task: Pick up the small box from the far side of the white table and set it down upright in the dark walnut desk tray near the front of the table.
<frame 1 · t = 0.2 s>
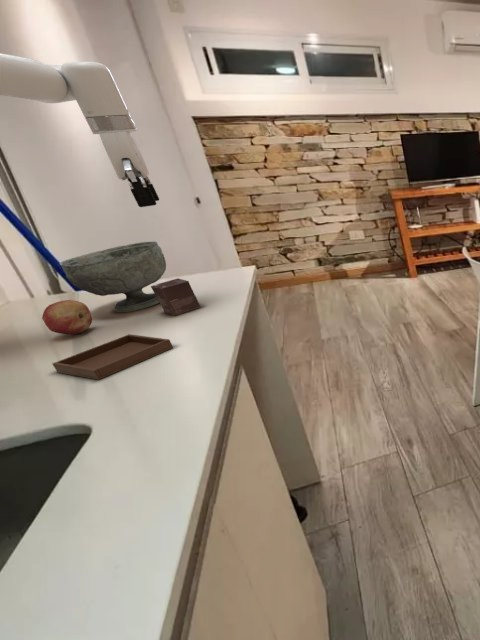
hand: (149, 203, 113), 26 cm above the worktop, tool pointing down, fingers open, 9 cm apart
bowl: (137, 306, 127), on the worktop
box: (183, 310, 121), on the worktop
fruit: (77, 334, 112), on the worktop
desk tray: (117, 359, 97), on the worktop
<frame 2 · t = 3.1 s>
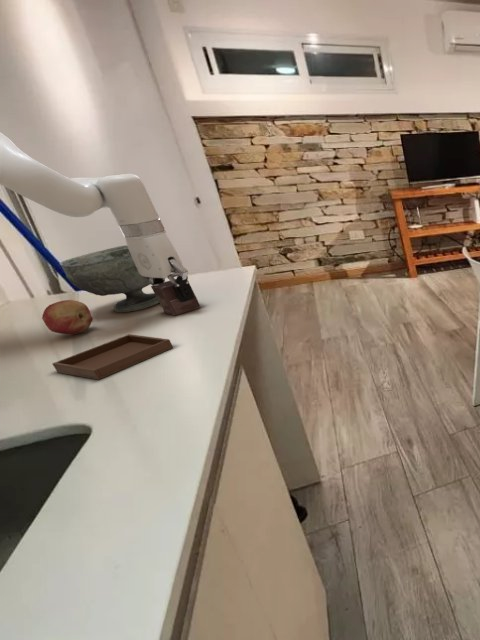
hand: (177, 298, 120), 3 cm above the worktop, tool pointing down, fingers closed on box, 6 cm apart
box: (183, 310, 121), on the worktop, touching gripper
everything else where it was.
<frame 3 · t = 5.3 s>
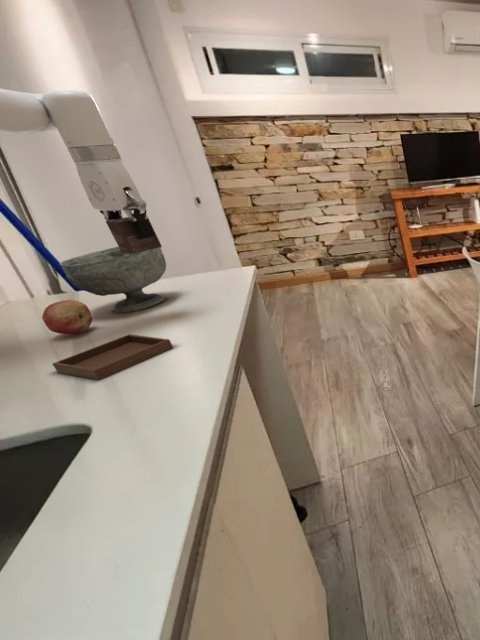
hand: (135, 236, 109), 20 cm above the worktop, tool pointing down, fingers closed on box, 6 cm apart
box: (142, 250, 111), point 17 cm above the worktop, touching gripper
everything else where it was.
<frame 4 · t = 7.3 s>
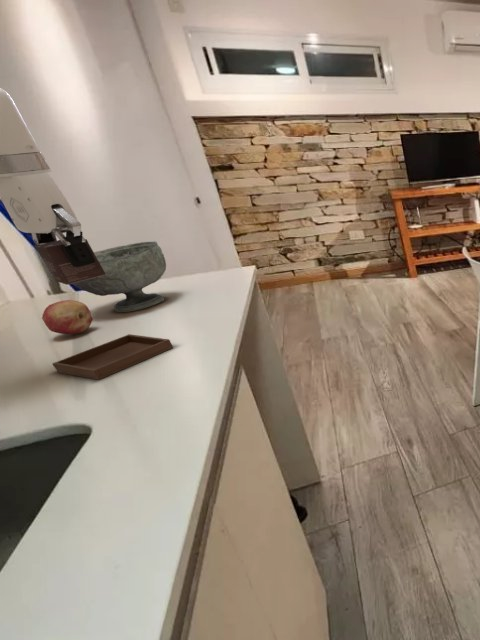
hand: (72, 263, 90), 20 cm above the worktop, tool pointing down, fingers closed on box, 6 cm apart
box: (82, 279, 92), point 16 cm above the worktop, touching gripper
everything else where it was.
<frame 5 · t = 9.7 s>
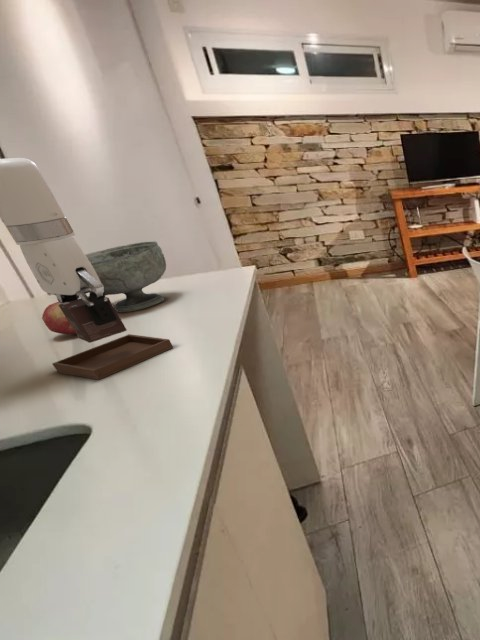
hand: (94, 320, 93), 9 cm above the worktop, tool pointing down, fingers closed on box, 6 cm apart
box: (103, 335, 94), point 5 cm above the worktop, touching gripper
everything else where it was.
when the fingers open (4 cm above the worktop, at t = 11.6 s): box stays where it is, resting on desk tray.
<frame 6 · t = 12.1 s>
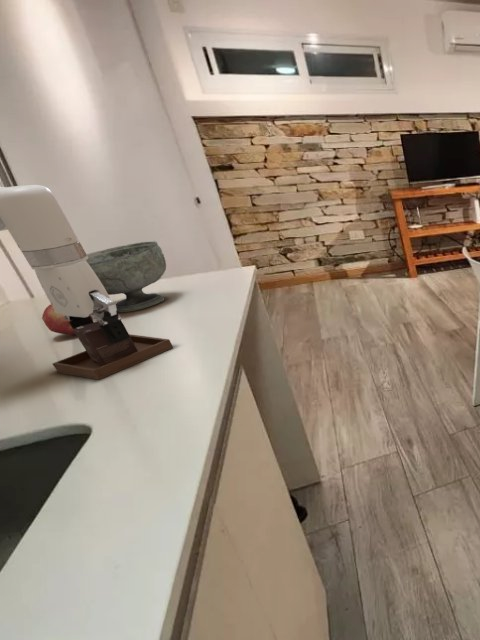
hand: (104, 338, 95), 5 cm above the worktop, tool pointing down, fingers open, 9 cm apart
box: (116, 358, 97), resting on desk tray
everything else where it was.
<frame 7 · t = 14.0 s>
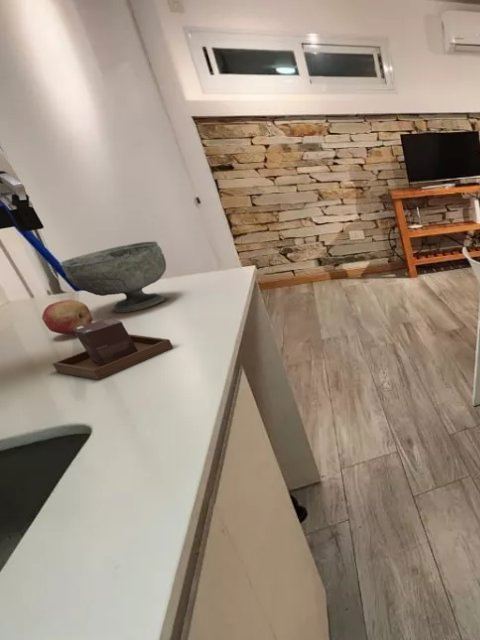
hand: (18, 229, 90), 26 cm above the worktop, tool pointing down, fingers open, 9 cm apart
nothing on the worktop moved.
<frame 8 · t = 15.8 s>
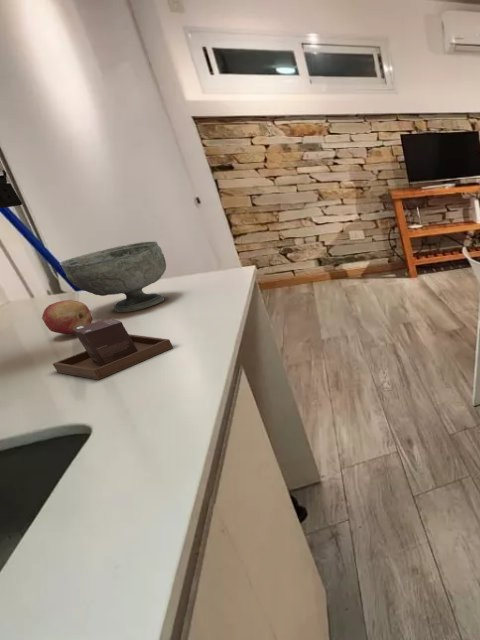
nothing on the worktop moved.
at the end: box inside the target area in the desk tray (0.1 cm from its centre), point 0.3 cm above the desk tray's base; box tilted 0°; the gripper is holding nothing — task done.
